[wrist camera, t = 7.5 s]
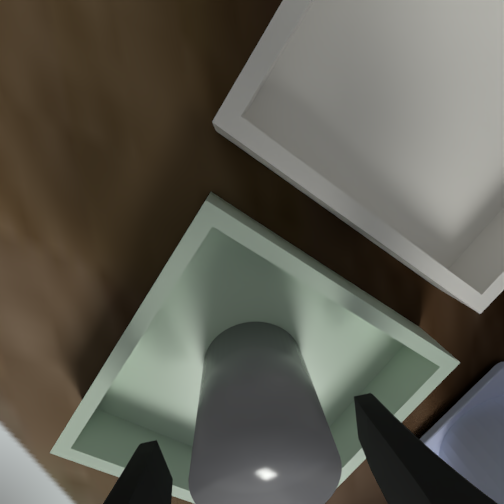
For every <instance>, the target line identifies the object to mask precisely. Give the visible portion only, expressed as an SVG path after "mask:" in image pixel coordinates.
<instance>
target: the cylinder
mask: <svg viewBox="0 0 504 504" xmlns="http://www.w3.org/2000/svg"><path fill="white" fill-rule="evenodd" d="M341 472H342V463H341V458H340V455H339V452H338V449H337V447H336V444H335V441H334V439H333V436H332V433H331V431H330V428H329V425H328V423H327V420H326V417H325V415H324V412H323V409H322V407H321V404H320V401H319V398H318V396H317V393H316V390H315V388H314V385H313V382H312V380H311V377H310V374H309V372H308V369H307V366H306V364H305V361H304V358H303V356H302V353H301V350H300V348H299V345H298V344H297V342H296V340H295V339H294V338H293V337H292V335H290V334H289V333H288V332H287V331H285V330H284V329H283V328H281V327H279V326H276V325H273V324H270V323H266V322H246V323H241V324H237V325H235V326H232V327H230V328H228V329H226V330H225V331H223V332H222V333H220V334H219V335H218V336H217V337H216V338H215V339H214V340H213V341H212V342H211V344H210V345H209V347H208V349H207V351H206V354H205V357H204V363H203V371H202V379H201V386H200V394H199V402H198V409H197V417H196V425H195V433H194V440H193V448H192V456H191V463H190V471H189V479H188V483H189V490H190V494H191V496H192V499H193V501H194V502H195V504H325V503H326V502H327V501H328V500H329V498H330V497H331V496H332V494H333V493H334V492H335V490H336V488H337V486H338V484H339V481H340V478H341Z"/></svg>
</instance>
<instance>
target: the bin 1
mask: <svg viewBox="0 0 504 504" xmlns="http://www.w3.org/2000/svg"><path fill="white" fill-rule="evenodd" d="M212 123H213V126H214V128H215V130H216V132H218V133H219V134H221V135H222V136H224V137H225V138H226V139H228V140H229V141H231V142H232V143H233V144H235V145H236V146H238V147H239V148H240V149H242V150H243V151H245V152H246V153H247V154H249V155H250V156H252V157H253V158H254V159H256V160H257V161H259V162H260V163H262V164H263V165H264V166H266V167H267V168H269V169H270V170H271V171H273V172H274V173H276V174H277V175H278V176H280V177H281V178H283V179H284V180H285V181H287V182H288V183H290V184H291V185H293V186H294V187H295V188H297V189H298V190H300V191H301V192H302V193H304V194H305V195H307V196H308V197H309V198H311V199H312V200H314V201H315V202H316V203H318V204H319V205H321V206H322V207H324V208H325V209H326V210H328V211H329V212H331V213H332V214H333V215H335V216H336V217H338V218H339V219H340V220H342V221H343V222H345V223H346V224H347V225H349V226H350V227H352V228H353V229H354V230H356V231H357V232H359V233H360V234H362V235H363V236H364V237H366V238H367V239H369V240H370V241H371V242H373V243H374V244H376V245H377V246H378V247H380V248H381V249H383V250H384V251H385V252H387V253H388V254H390V255H391V256H393V257H394V258H395V259H397V260H398V261H400V262H401V263H402V264H404V265H405V266H407V267H408V268H409V269H411V270H412V271H414V272H415V273H416V274H418V275H419V276H421V277H422V278H423V279H425V280H426V281H428V282H429V283H431V284H432V285H433V286H435V287H437V288H438V289H440V290H441V291H443V292H445V293H446V294H448V295H450V296H451V297H453V298H455V299H456V300H458V301H460V302H461V303H463V304H464V305H466V306H468V307H469V308H471V309H473V310H474V311H476V312H478V313H479V314H481V313H482V312H483V311H484V310H485V309H486V308H487V307H488V306H489V305H490V304H491V302H492V301H493V300H494V299H495V298H496V297H497V296H498V295H499V294H500V293H501V292H502V291H503V290H504V0H283V1H282V3H281V4H280V6H279V8H278V9H277V11H276V13H275V15H274V16H273V18H272V20H271V21H270V23H269V25H268V27H267V28H266V30H265V32H264V33H263V35H262V37H261V39H260V40H259V42H258V44H257V46H256V47H255V49H254V51H253V52H252V54H251V56H250V58H249V59H248V61H247V63H246V64H245V66H244V68H243V70H242V71H241V73H240V75H239V76H238V78H237V80H236V82H235V83H234V85H233V87H232V88H231V90H230V92H229V94H228V95H227V97H226V99H225V100H224V102H223V104H222V106H221V107H220V109H219V111H218V112H217V114H216V116H215V118H214V119H213V121H212Z"/></svg>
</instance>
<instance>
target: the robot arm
mask: <svg viewBox="0 0 504 504" xmlns="http://www.w3.org/2000/svg"><path fill="white" fill-rule="evenodd" d="M354 402H355V412H356V421H357V431H358V439H359V441H360V444H361V446H362V449H363V451H364V454H365V456H366V459H367V461H368V464H369V466H370V468H371V471H372V473H373V475H374V477H375V479H376V481H377V483H378V485H379V487H380V489H381V491H382V493H383V495H384V497H385V499H386V501H387V502H388V504H504V362H500V363H497V364H496V365H495V366H494V367H493V368H492V369H491V370H490V371H489V372H488V373H487V374H486V375H485V376H484V377H482V378H481V379H480V380H479V381H478V382H477V383H476V384H475V385H474V386H473V387H472V388H471V389H470V390H469V391H468V392H467V393H466V394H465V395H464V396H463V397H462V398H461V399H460V400H459V401H458V402H457V403H456V404H455V405H454V406H453V407H452V408H451V409H450V410H449V411H448V412H447V413H446V414H445V415H444V416H443V417H442V418H440V419H439V420H438V421H437V422H436V423H435V424H434V425H433V426H432V427H431V428H430V429H429V430H428V431H427V432H426V433H425V434H424V435H423V436H422V437H421V438H420V439H418V438H417V437H416V436H415V435H414V434H413V433H412V432H411V431H410V430H409V429H408V428H406V427H405V426H404V425H403V424H402V423H401V422H400V421H399V420H398V419H397V418H396V417H395V416H394V415H393V414H392V413H391V412H390V411H389V410H388V409H387V408H386V407H385V406H384V405H383V404H382V403H381V402H380V401H379V400H378V399H377V398H376V397H375V396H374V395H373V394H371V393H368V394H363V395H358V396H354ZM172 485H173V478H172V476H171V473H170V471H169V468H168V466H167V464H166V461H165V459H164V456H163V454H162V452H161V449H160V447H159V444H158V442H157V440H154V441H150V442H145V443H141V444H139V446H138V447H137V449H136V450H135V452H134V454H133V455H132V457H131V459H130V460H129V462H128V464H127V465H126V467H125V469H124V470H123V472H122V474H121V475H120V477H119V479H118V480H117V482H116V484H115V485H114V487H113V489H112V490H111V492H110V494H109V495H108V497H107V498H106V500H105V501H104V503H103V504H171V497H172Z"/></svg>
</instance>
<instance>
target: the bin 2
mask: <svg viewBox="0 0 504 504" xmlns="http://www.w3.org/2000/svg"><path fill="white" fill-rule="evenodd" d="M246 322H266V323H270V324H273V325H276V326H279V327H281V328H283V329H284V330H285V331H287V332H288V333H289V334H290V335H292V337H293V338H294V339H295V340H296V342H297V344H298V345H299V348H300V350H301V353H302V356H303V358H304V361H305V364H306V366H307V369H308V372H309V374H310V377H311V380H312V382H313V385H314V388H315V390H316V393H317V396H318V398H319V401H320V404H321V407H322V409H323V412H324V415H325V417H326V420H327V423H328V425H329V428H330V431H331V433H332V436H333V439H334V441H335V444H336V447H337V449H338V452H339V455H340V458H341V463H342V472H341V478H340V481H339V484H338V486H339V485H340V484H341V483H342V482H343V481H344V480H345V479H346V478H347V477H348V476H349V475H350V474H351V473H352V472H353V471H354V470H355V469H356V468H357V467H358V466H359V465H360V464H361V463H362V462H363V461H364V460H365V459H366V456H365V454H364V451H363V449H362V446H361V444H360V441H359V439H358V431H357V421H356V412H355V402H354V396H358V395H363V394H368V393H371V394H373V395H374V396H375V397H376V398H377V399H378V400H379V401H380V402H381V403H382V404H383V405H384V406H385V407H386V408H387V409H388V410H389V411H390V412H391V413H392V414H393V415H394V416H395V417H396V418H397V419H398V420H399V421H400V422H402V421H403V420H404V419H405V418H406V417H407V416H408V415H409V414H410V413H411V412H412V411H413V410H414V409H415V408H416V407H417V406H418V405H419V404H420V403H421V402H422V401H423V400H424V399H425V398H426V397H427V396H428V395H429V394H430V393H431V392H432V391H433V390H434V389H435V388H436V387H437V386H438V385H439V384H440V383H441V382H442V381H443V380H444V379H445V378H446V377H447V376H448V375H449V374H450V373H451V372H452V371H453V370H454V369H455V368H456V367H457V366H458V365H459V364H460V362H459V361H458V360H457V359H456V358H455V357H453V356H452V355H451V354H450V353H449V352H448V351H447V350H445V349H444V348H443V347H442V346H441V345H440V344H439V343H437V342H436V341H435V340H434V339H433V338H432V337H431V336H429V335H428V334H427V333H426V332H425V331H424V330H422V329H421V328H420V327H419V326H417V325H416V324H414V323H413V322H411V321H410V320H408V319H406V318H405V317H403V316H402V315H400V314H399V313H397V312H396V311H394V310H393V309H391V308H390V307H388V306H386V305H385V304H383V303H382V302H380V301H379V300H377V299H376V298H374V297H373V296H371V295H369V294H368V293H366V292H365V291H363V290H362V289H360V288H359V287H357V286H356V285H354V284H353V283H351V282H349V281H348V280H346V279H345V278H343V277H342V276H340V275H339V274H337V273H336V272H334V271H333V270H331V269H329V268H328V267H326V266H325V265H323V264H322V263H320V262H319V261H317V260H316V259H314V258H313V257H311V256H309V255H308V254H306V253H305V252H303V251H302V250H300V249H299V248H297V247H296V246H294V245H293V244H291V243H289V242H288V241H286V240H285V239H283V238H282V237H280V236H279V235H277V234H276V233H274V232H272V231H271V230H269V229H268V228H266V227H265V226H263V225H262V224H260V223H259V222H257V221H256V220H254V219H252V218H251V217H249V216H248V215H246V214H245V213H243V212H242V211H240V210H239V209H237V208H236V207H234V206H232V205H231V204H229V203H228V202H226V201H225V200H223V199H222V198H220V197H219V196H217V195H216V194H214V193H212V192H210V194H209V195H208V197H207V199H206V200H205V202H204V203H203V205H202V207H201V208H200V210H199V211H198V213H197V215H196V216H195V218H194V220H193V221H192V223H191V224H190V226H189V228H188V229H187V231H186V233H185V234H184V236H183V237H182V239H181V241H180V242H179V244H178V246H177V247H176V249H175V250H174V252H173V254H172V255H171V257H170V258H169V260H168V262H167V263H166V265H165V267H164V268H163V270H162V271H161V273H160V275H159V276H158V278H157V280H156V281H155V283H154V284H153V286H152V288H151V289H150V291H149V293H148V294H147V296H146V297H145V299H144V301H143V302H142V304H141V305H140V307H139V309H138V310H137V312H136V314H135V315H134V317H133V318H132V320H131V322H130V323H129V325H128V327H127V328H126V330H125V331H124V333H123V335H122V336H121V338H120V340H119V341H118V343H117V344H116V346H115V348H114V349H113V351H112V352H111V354H110V356H109V357H108V359H107V361H106V362H105V364H104V365H103V367H102V369H101V370H100V372H99V374H98V375H97V377H96V378H95V380H94V382H93V383H92V385H91V387H90V388H89V390H88V391H87V393H86V395H85V396H84V398H83V399H82V401H81V403H80V404H79V406H78V408H77V409H76V411H75V413H74V414H73V416H72V417H71V419H70V421H69V422H68V424H67V426H66V427H65V429H64V430H63V432H62V434H61V435H60V437H59V439H58V440H57V442H56V444H55V445H54V447H53V448H52V450H51V452H50V453H51V454H54V455H57V456H60V457H62V458H65V459H68V460H71V461H74V462H77V463H80V464H83V465H85V466H88V467H91V468H94V469H97V470H100V471H103V472H106V473H108V474H111V475H114V476H117V477H120V475H121V474H122V472H123V470H124V469H125V467H126V465H127V464H128V462H129V460H130V459H131V457H132V455H133V454H134V452H135V450H136V449H137V447H138V446H139V444H141V443H145V442H150V441H154V440H157V442H158V444H159V447H160V449H161V452H162V454H163V456H164V459H165V461H166V464H167V466H168V468H169V471H170V473H171V476H172V478H173V485H172V496H174V497H177V498H180V499H183V500H186V501H189V502H192V503H195V502H194V501H193V499H192V496H191V494H190V490H189V483H188V479H189V471H190V463H191V456H192V448H193V440H194V433H195V425H196V417H197V409H198V402H199V394H200V386H201V379H202V371H203V363H204V357H205V354H206V351H207V349H208V347H209V345H210V344H211V342H212V341H213V340H214V339H215V338H216V337H217V336H218V335H219V334H220V333H222V332H223V331H225V330H226V329H228V328H230V327H232V326H235V325H237V324H241V323H246ZM338 486H337V487H338Z"/></svg>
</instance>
